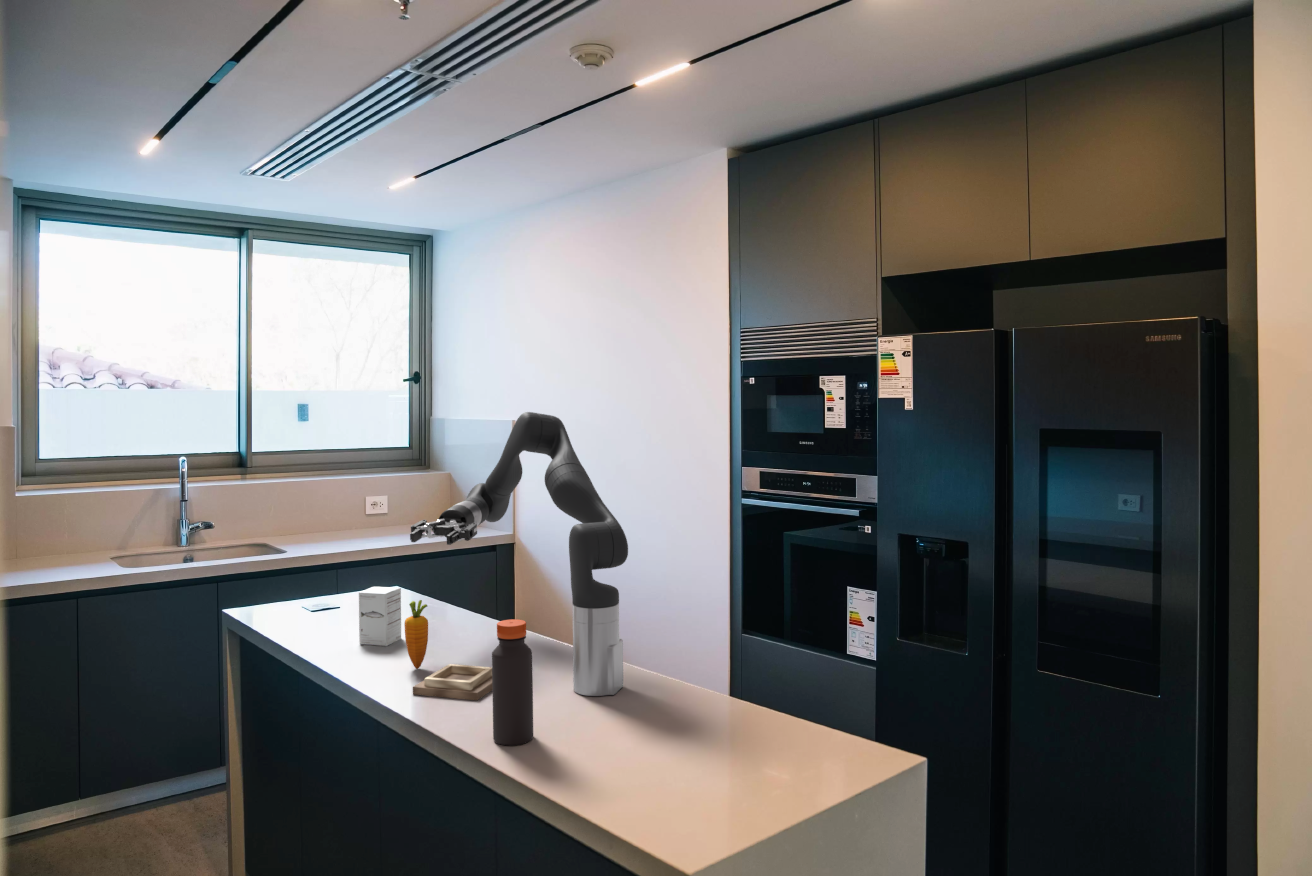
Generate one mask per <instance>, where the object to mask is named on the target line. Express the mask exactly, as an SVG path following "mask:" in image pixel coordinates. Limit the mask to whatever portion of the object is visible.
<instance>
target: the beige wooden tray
mask: <svg viewBox="0 0 1312 876" xmlns="http://www.w3.org/2000/svg"><path fill="white" fill-rule="evenodd" d="M491 691H492V666H491V667H489V666H478V665H469V664H468V665H467V664H457V663H456V664H455V663H454V664H453V663H449V664H447V665H445V666H444V667H441V668H440V669H439V670H436V671H435V672H433V673H432V674H430V675H428V676H426V677H425V678H424V680H421V681H420V682H418V683H417V684H415V685H413V686H412V695H414V696H415V695H416V696H428V697H437V698H445V699H446V698H448V699H458V700H467V701H470V700H471V701H479V700H480V699H482V698H483V697H485V696H486V695H487V694H488V693H489V694H490V693H491Z"/></svg>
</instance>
